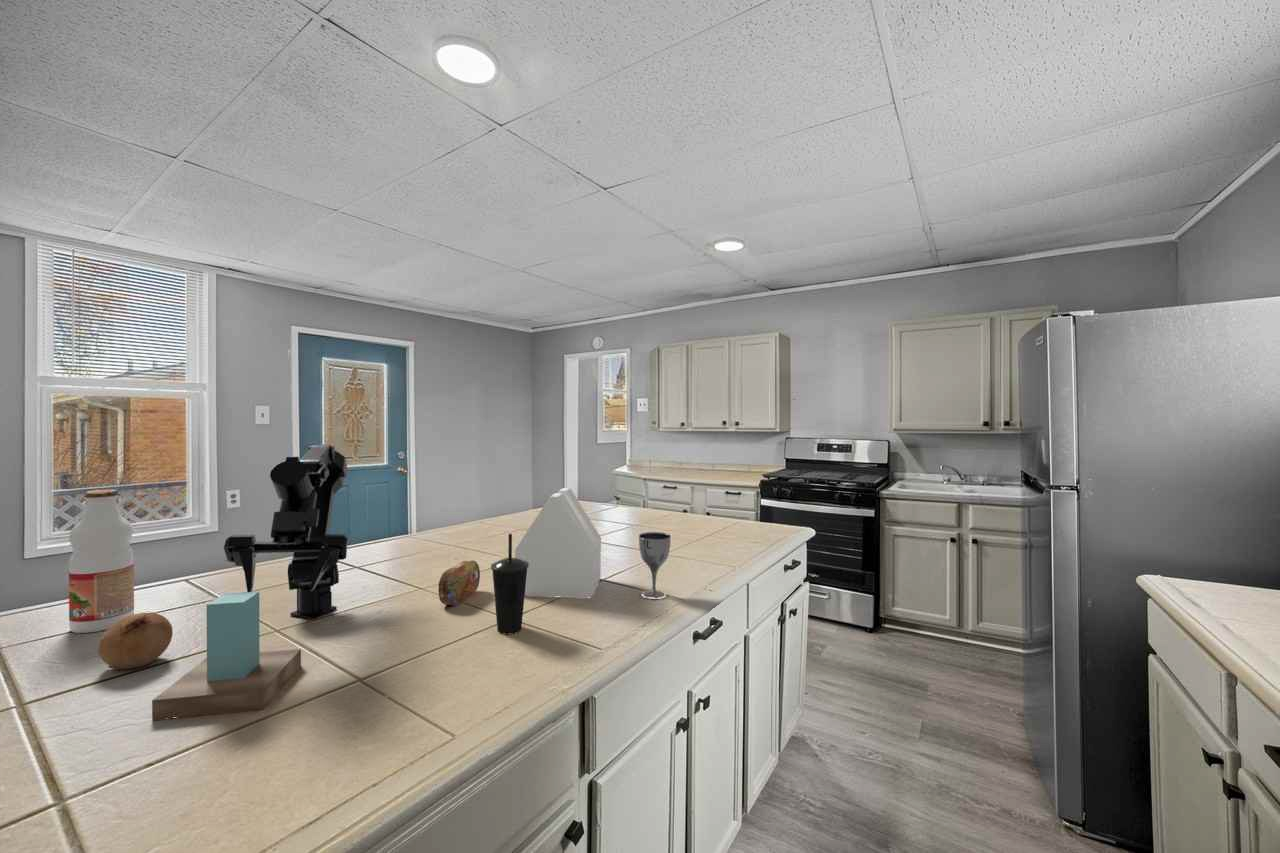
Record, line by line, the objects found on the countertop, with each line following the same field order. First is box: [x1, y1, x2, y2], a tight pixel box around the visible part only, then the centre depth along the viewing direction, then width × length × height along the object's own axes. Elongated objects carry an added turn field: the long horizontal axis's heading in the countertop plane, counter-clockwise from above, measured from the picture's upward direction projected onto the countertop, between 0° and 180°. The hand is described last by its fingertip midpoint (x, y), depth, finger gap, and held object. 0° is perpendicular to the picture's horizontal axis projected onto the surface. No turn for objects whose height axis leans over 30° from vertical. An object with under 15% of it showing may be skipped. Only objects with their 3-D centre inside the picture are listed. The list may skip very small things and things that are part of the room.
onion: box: [98, 611, 174, 670], centre depth 91 cm, size 10×9×10 cm
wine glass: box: [638, 531, 672, 598], centre depth 130 cm, size 8×8×15 cm
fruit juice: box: [68, 489, 135, 634], centre depth 108 cm, size 9×9×28 cm
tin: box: [438, 560, 481, 607], centre depth 126 cm, size 15×3×8 cm, turn 168°
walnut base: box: [151, 648, 302, 721], centre depth 83 cm, size 14×14×3 cm
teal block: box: [206, 591, 260, 681], centre depth 83 cm, size 5×5×12 cm
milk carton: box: [514, 487, 602, 598], centre depth 135 cm, size 19×15×25 cm
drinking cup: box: [490, 533, 529, 635], centre depth 108 cm, size 8×8×20 cm
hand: (280, 591), depth 91 cm, fingers open, 9 cm apart
